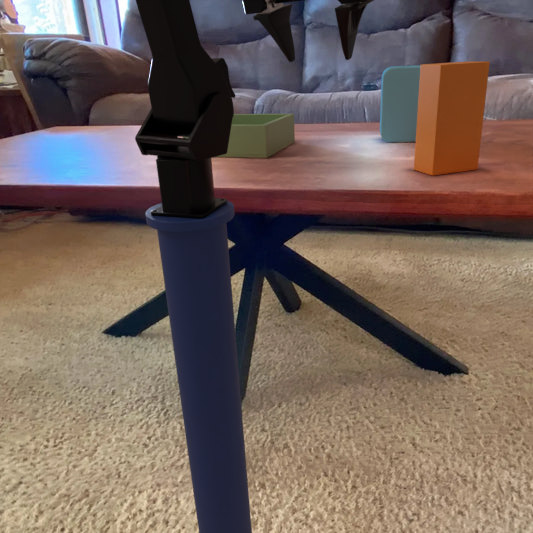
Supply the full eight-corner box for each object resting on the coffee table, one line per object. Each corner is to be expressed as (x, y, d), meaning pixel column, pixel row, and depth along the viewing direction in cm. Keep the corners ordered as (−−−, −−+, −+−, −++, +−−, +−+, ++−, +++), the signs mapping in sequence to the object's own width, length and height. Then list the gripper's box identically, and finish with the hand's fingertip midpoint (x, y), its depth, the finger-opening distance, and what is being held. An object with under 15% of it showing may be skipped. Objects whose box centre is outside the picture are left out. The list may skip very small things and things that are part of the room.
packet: (477, 169, 66) (490, 61, 61) (432, 175, 64) (441, 64, 59) (457, 163, 70) (467, 61, 64) (413, 169, 67) (420, 64, 62)
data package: (449, 136, 90) (455, 63, 85) (453, 141, 85) (460, 64, 81) (379, 138, 92) (381, 66, 87) (380, 142, 87) (383, 67, 83)
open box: (267, 158, 80) (265, 125, 78) (184, 156, 85) (181, 125, 83) (294, 142, 92) (294, 113, 90) (221, 141, 97) (219, 114, 95)
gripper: (400, -97, 62) (406, 39, 70) (276, -70, 72) (295, 45, 81) (357, -82, 55) (370, 65, 64) (227, -55, 66) (254, 69, 75)
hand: (319, 60), depth 71 cm, fingers open, 9 cm apart
